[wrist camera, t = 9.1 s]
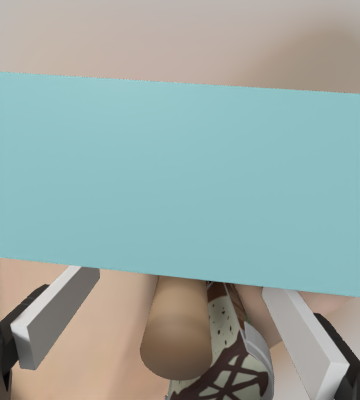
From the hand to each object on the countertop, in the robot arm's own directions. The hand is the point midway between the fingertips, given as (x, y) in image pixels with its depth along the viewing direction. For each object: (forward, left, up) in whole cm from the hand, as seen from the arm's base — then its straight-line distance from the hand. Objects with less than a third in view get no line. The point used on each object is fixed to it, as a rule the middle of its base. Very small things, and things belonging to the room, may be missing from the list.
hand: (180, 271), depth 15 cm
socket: (+4, +4, -8) cm, 10 cm away
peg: (0, 0, -8) cm, 8 cm away
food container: (+5, -11, -8) cm, 15 cm away
